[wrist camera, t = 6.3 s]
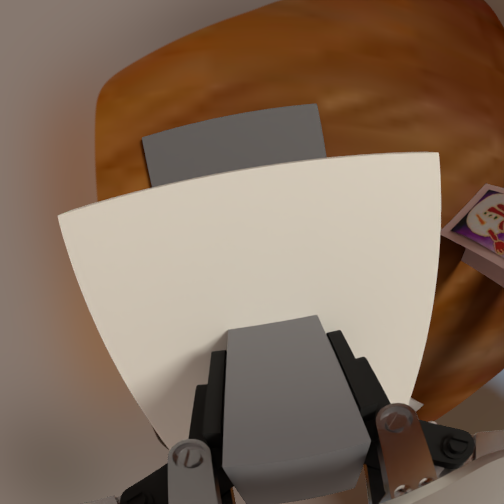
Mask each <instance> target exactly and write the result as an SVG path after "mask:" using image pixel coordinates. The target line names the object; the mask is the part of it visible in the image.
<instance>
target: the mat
mask: <svg viewBox="0 0 504 504" xmlns="http://www.w3.org/2000/svg"><path fill="white" fill-rule="evenodd" d="M142 141H143V146H144V151H145V156H146V161H147V166H148V171H149V175H150V180H151V184H152V187H157V186H161V185H165V184H169V183H174V182H178V181H183V180H188V179H192V178H197V177H202V176H207V175H212V174H218V173H223V172H229V171H234V170H240V169H246V168H252V167H258V166H265V165H272V164H279V163H286V162H294V161H302V160H310V159H319V158H326V152H325V145H324V139H323V134H322V128H321V123H320V117H319V112H318V107H317V104H307V105H297V106H288V107H280V108H272V109H265V110H259V111H253V112H247V113H241V114H235V115H230V116H225V117H220V118H215V119H211V120H206V121H202V122H197V123H193V124H189V125H185V126H181V127H177V128H174V129H170V130H166V131H163V132H159V133H156V134H152V135H149V136H146V137H143V138H142Z"/></svg>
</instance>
